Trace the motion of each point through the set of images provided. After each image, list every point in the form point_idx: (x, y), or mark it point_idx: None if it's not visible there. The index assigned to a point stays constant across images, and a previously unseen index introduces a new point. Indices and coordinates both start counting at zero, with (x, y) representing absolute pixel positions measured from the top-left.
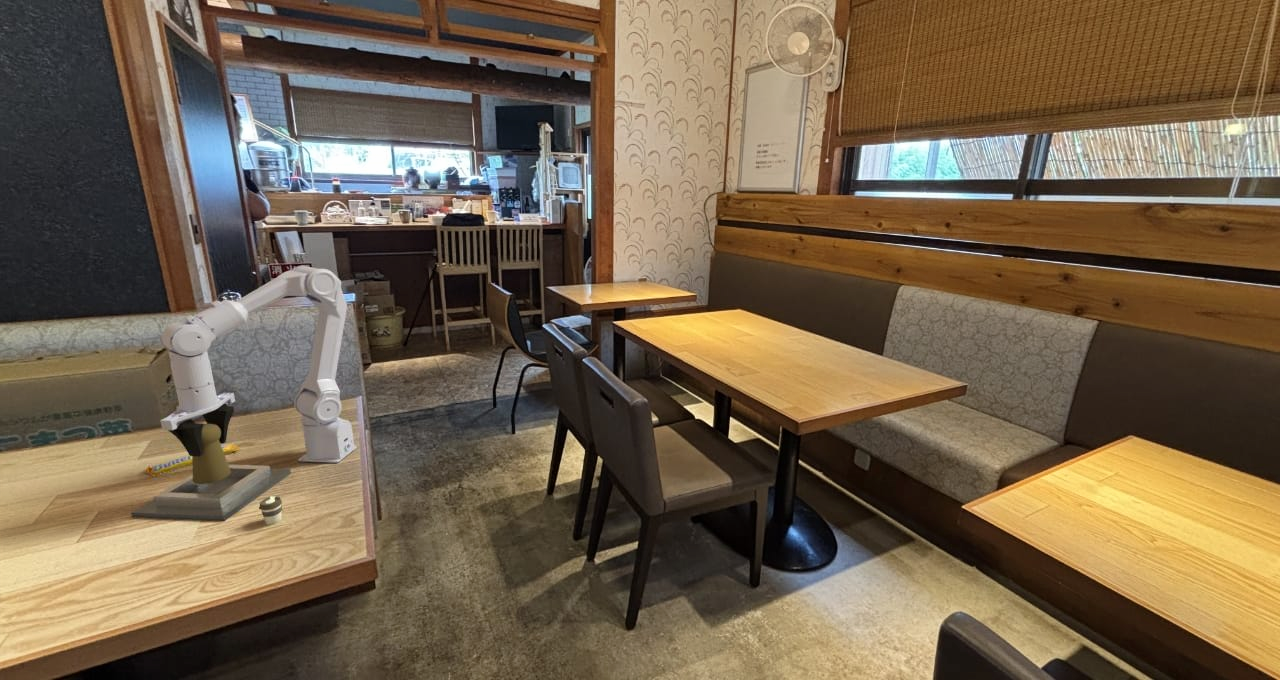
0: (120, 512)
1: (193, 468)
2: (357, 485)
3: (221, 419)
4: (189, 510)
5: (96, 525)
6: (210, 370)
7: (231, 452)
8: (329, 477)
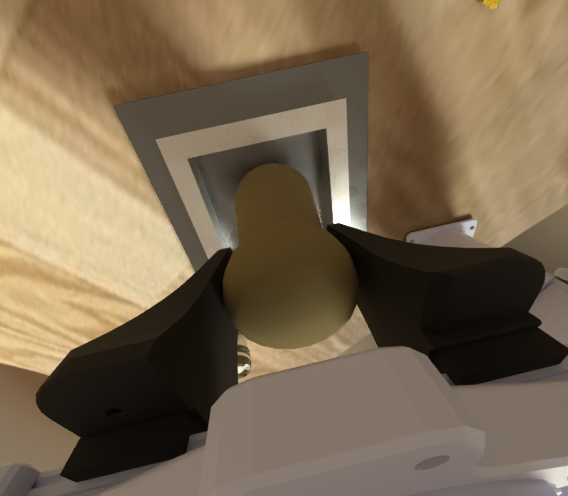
0: (109, 33)
1: (237, 209)
2: (338, 353)
3: (381, 343)
4: (192, 233)
5: (42, 43)
6: None
7: None
8: (354, 314)
